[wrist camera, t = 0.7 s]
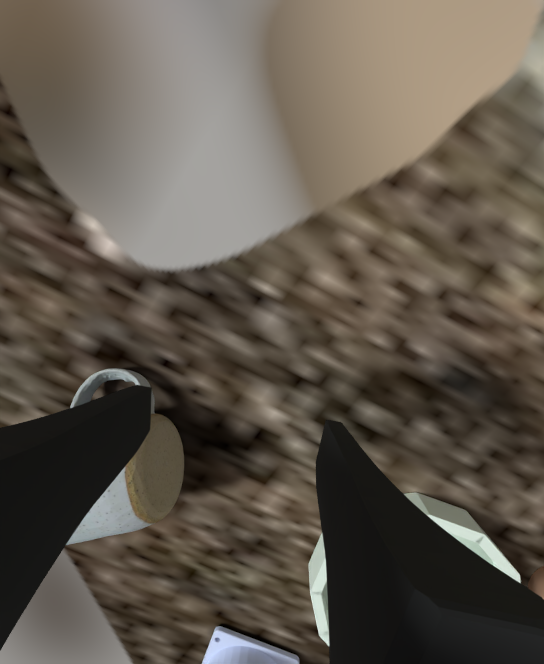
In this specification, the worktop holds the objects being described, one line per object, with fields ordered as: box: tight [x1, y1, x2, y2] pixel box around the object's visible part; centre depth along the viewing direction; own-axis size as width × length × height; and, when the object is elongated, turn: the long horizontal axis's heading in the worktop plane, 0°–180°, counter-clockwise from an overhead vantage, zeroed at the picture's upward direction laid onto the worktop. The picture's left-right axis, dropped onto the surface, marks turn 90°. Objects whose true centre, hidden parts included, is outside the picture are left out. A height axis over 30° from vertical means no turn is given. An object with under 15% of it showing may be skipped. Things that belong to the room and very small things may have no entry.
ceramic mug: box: [66, 368, 184, 545], centre depth 19 cm, size 11×8×8 cm
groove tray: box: [309, 492, 521, 646], centre depth 22 cm, size 15×15×2 cm
